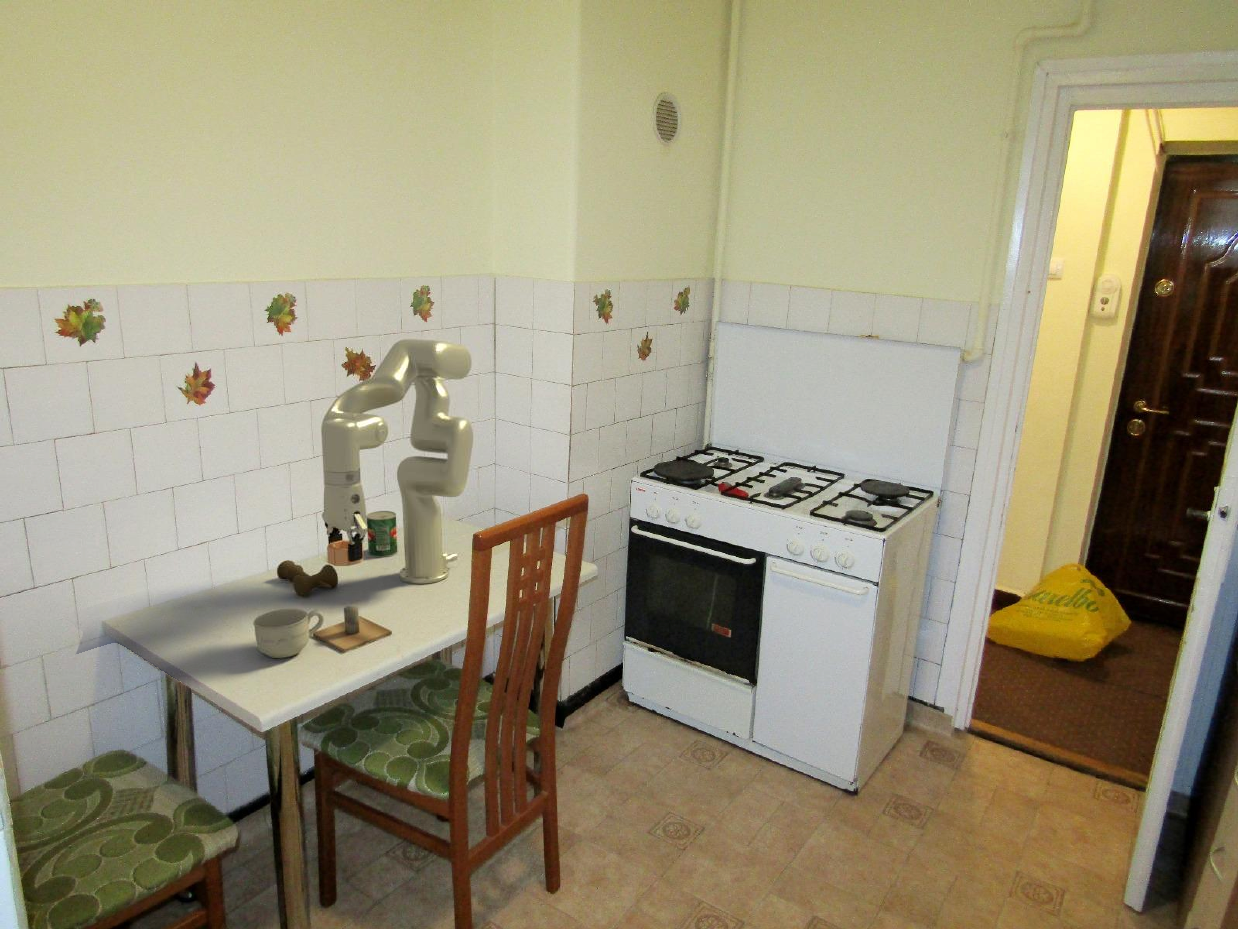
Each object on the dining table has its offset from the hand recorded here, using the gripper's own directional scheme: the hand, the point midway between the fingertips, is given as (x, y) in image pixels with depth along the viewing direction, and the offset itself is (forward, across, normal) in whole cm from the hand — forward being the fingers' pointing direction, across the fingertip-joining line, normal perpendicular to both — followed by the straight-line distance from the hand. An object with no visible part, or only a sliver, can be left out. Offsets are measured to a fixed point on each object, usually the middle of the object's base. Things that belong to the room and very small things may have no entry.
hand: (345, 555), depth 193 cm
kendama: (+18, +29, -7) cm, 35 cm away
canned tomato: (+17, +37, -34) cm, 53 cm away
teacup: (+18, 0, +14) cm, 23 cm away
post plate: (+18, -3, +1) cm, 18 cm away
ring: (+1, 0, 0) cm, 1 cm away
